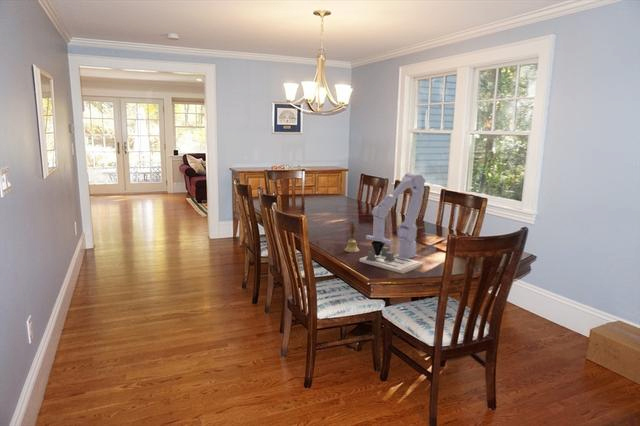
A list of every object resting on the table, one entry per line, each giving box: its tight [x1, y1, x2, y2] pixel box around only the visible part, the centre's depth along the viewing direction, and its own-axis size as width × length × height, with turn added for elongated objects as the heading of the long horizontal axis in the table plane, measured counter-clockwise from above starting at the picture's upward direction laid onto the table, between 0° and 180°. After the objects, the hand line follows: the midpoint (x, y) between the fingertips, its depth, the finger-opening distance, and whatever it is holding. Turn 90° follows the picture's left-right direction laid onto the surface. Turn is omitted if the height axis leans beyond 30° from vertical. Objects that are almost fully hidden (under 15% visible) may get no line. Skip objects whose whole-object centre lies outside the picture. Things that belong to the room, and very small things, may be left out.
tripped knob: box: [384, 251, 395, 261], centre depth 223 cm, size 4×4×4 cm
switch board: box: [359, 251, 424, 275], centre depth 223 cm, size 18×26×2 cm
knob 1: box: [366, 250, 376, 261], centre depth 223 cm, size 4×4×4 cm
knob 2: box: [380, 246, 390, 256], centre depth 232 cm, size 4×4×4 cm
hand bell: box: [344, 221, 360, 253], centre depth 244 cm, size 8×8×16 cm
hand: (377, 255), depth 228 cm, fingers closed
